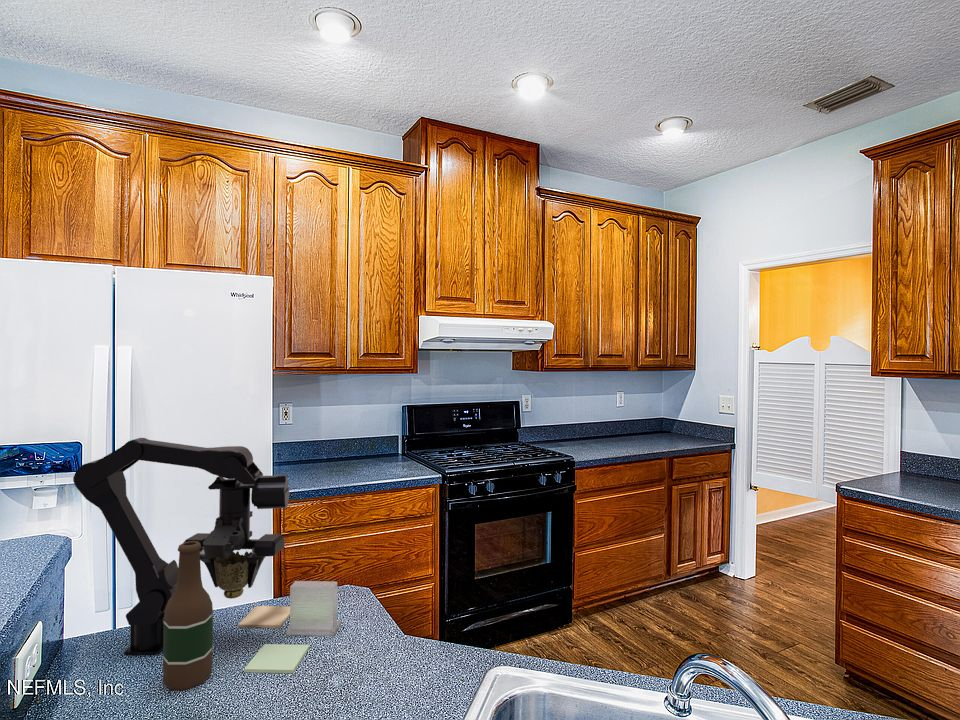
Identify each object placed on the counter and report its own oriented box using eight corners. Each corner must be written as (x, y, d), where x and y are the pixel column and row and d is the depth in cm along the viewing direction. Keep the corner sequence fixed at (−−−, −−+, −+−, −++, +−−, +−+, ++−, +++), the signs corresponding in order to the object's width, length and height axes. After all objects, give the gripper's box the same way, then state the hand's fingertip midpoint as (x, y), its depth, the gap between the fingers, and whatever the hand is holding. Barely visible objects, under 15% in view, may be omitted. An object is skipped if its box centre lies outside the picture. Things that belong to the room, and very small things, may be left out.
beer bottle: (165, 672, 99) (167, 539, 100) (213, 663, 102) (215, 534, 103) (159, 696, 92) (161, 552, 93) (210, 685, 95) (212, 547, 96)
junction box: (286, 635, 114) (286, 587, 114) (294, 623, 119) (295, 578, 119) (334, 635, 113) (334, 588, 113) (340, 624, 118) (341, 578, 118)
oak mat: (237, 627, 117) (237, 624, 117) (255, 608, 126) (256, 606, 126) (279, 628, 117) (279, 625, 117) (294, 609, 126) (295, 606, 126)
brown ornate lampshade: (260, 589, 115) (260, 551, 115) (241, 604, 107) (242, 563, 107) (226, 587, 115) (226, 549, 116) (205, 602, 108) (206, 562, 108)
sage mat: (244, 672, 100) (244, 669, 100) (264, 647, 109) (264, 644, 109) (293, 673, 99) (293, 669, 99) (309, 647, 108) (309, 644, 108)
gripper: (166, 520, 104) (164, 603, 104) (263, 521, 103) (262, 604, 103) (197, 505, 115) (196, 580, 115) (285, 506, 115) (285, 581, 114)
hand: (233, 586), depth 111 cm, fingers closed on brown ornate lampshade, 6 cm apart
